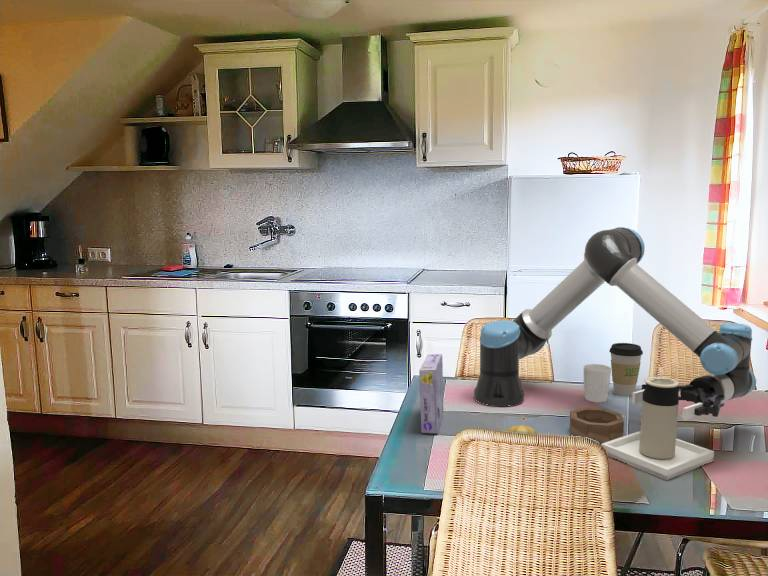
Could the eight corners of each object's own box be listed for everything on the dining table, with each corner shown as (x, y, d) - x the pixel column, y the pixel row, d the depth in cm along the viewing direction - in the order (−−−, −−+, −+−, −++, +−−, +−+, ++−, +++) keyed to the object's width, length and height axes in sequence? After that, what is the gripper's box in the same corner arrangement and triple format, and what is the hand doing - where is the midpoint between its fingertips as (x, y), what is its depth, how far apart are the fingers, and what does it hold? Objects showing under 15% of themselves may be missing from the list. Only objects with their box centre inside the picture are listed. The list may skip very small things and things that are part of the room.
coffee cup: (643, 398, 204) (645, 350, 202) (609, 396, 206) (611, 349, 204) (638, 388, 213) (640, 342, 211) (605, 387, 215) (607, 341, 213)
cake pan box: (427, 410, 196) (427, 351, 193) (444, 411, 195) (445, 352, 192) (418, 434, 178) (418, 370, 175) (437, 435, 177) (438, 370, 174)
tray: (600, 453, 164) (601, 443, 163) (647, 437, 173) (647, 428, 173) (666, 480, 149) (667, 469, 148) (713, 461, 158) (714, 451, 158)
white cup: (580, 394, 208) (581, 363, 207) (606, 395, 207) (608, 364, 206) (584, 402, 201) (585, 370, 199) (611, 403, 200) (613, 371, 198)
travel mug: (682, 457, 158) (687, 384, 155) (653, 461, 156) (658, 387, 153) (659, 445, 166) (664, 374, 163) (632, 448, 164) (636, 377, 161)
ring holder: (559, 432, 178) (560, 414, 177) (592, 422, 185) (593, 404, 184) (599, 447, 167) (600, 428, 166) (632, 436, 174) (633, 418, 173)
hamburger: (504, 473, 153) (504, 423, 151) (503, 460, 160) (504, 412, 158) (538, 475, 152) (539, 425, 150) (536, 462, 159) (538, 414, 157)
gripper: (758, 418, 160) (706, 437, 149) (665, 391, 181) (613, 406, 169) (761, 388, 159) (708, 404, 147) (667, 364, 179) (614, 377, 168)
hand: (657, 405), depth 158 cm, fingers open, 13 cm apart
